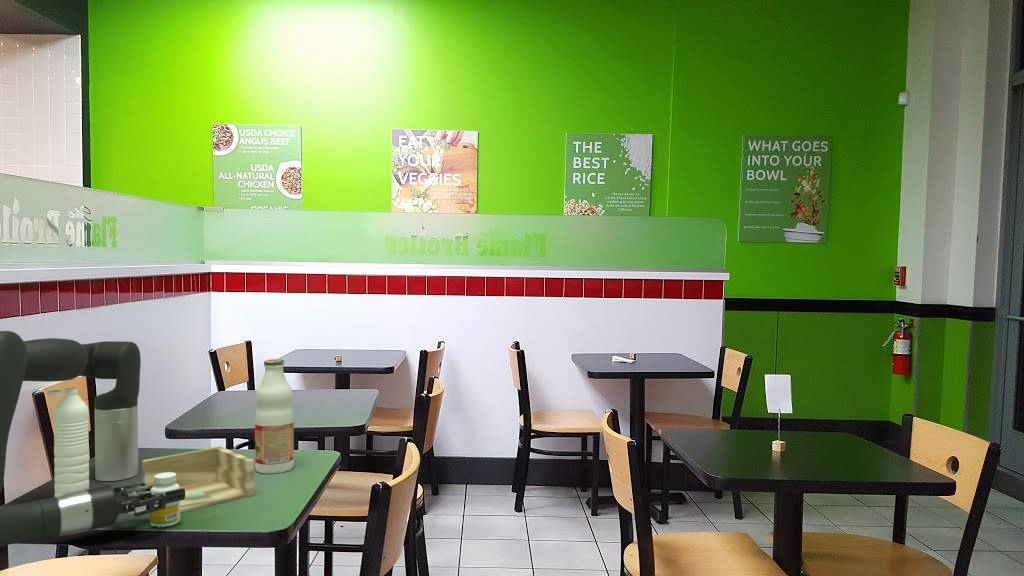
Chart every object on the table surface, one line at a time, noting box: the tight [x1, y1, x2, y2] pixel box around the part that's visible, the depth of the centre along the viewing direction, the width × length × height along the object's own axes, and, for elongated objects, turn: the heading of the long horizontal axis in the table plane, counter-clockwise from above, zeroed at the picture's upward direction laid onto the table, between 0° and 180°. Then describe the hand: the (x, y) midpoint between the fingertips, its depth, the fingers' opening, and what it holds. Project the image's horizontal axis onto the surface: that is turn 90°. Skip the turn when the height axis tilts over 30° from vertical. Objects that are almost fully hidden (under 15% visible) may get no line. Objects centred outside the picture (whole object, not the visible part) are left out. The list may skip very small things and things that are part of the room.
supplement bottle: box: [149, 472, 181, 528], centre depth 140 cm, size 5×5×10 cm
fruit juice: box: [254, 358, 295, 475], centre depth 178 cm, size 9×9×28 cm
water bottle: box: [47, 387, 90, 497], centre depth 152 cm, size 9×6×25 cm
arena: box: [141, 446, 255, 514], centre depth 158 cm, size 18×18×8 cm
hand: (178, 490), depth 142 cm, fingers closed on supplement bottle, 5 cm apart
